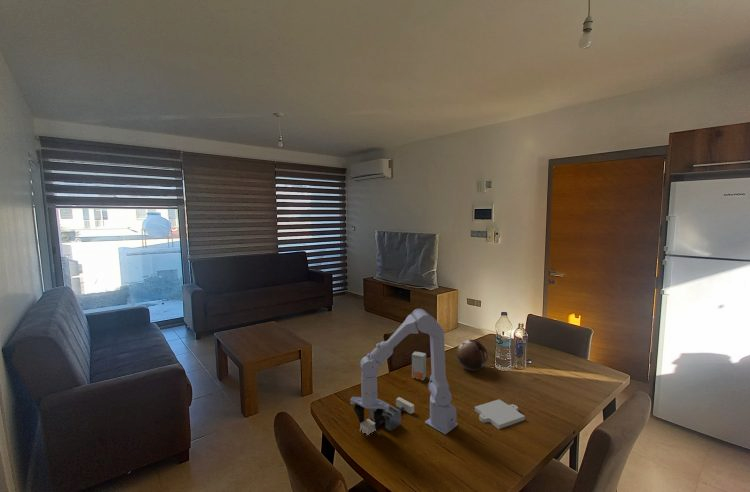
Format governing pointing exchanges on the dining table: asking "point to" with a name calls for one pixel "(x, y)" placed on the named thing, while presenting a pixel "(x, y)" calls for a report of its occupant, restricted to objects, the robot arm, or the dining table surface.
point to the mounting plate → (499, 413)
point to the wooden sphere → (472, 355)
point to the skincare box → (419, 365)
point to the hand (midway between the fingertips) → (369, 425)
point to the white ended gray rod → (369, 426)
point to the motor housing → (389, 416)
